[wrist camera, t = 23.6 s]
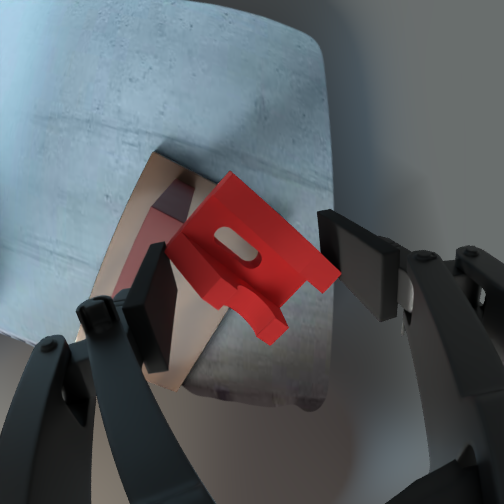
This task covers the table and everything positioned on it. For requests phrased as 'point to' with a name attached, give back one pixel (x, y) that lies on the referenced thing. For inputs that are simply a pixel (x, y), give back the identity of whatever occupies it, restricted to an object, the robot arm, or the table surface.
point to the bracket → (247, 272)
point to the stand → (188, 301)
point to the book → (157, 228)
